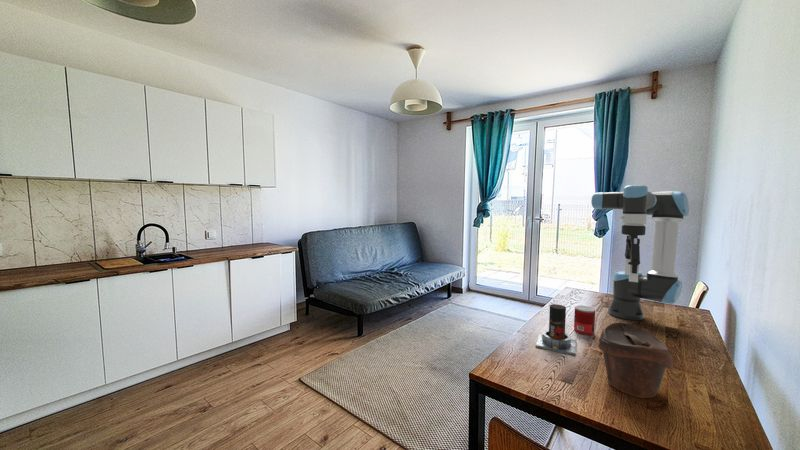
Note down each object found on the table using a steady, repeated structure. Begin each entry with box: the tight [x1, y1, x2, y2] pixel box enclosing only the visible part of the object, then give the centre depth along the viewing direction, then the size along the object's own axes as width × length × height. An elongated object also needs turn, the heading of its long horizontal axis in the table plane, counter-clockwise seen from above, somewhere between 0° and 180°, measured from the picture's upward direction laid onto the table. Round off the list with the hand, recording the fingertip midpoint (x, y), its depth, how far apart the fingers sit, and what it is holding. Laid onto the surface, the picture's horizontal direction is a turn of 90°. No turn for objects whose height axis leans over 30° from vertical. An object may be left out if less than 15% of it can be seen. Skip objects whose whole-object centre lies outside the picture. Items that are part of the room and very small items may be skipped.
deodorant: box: [548, 303, 567, 339], centre depth 128 cm, size 6×6×15 cm
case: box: [598, 322, 675, 399], centre depth 98 cm, size 18×20×18 cm
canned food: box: [573, 305, 596, 336], centre depth 141 cm, size 8×8×11 cm
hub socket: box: [535, 329, 577, 356], centre depth 128 cm, size 14×14×4 cm
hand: (630, 278), depth 123 cm, fingers open, 13 cm apart
